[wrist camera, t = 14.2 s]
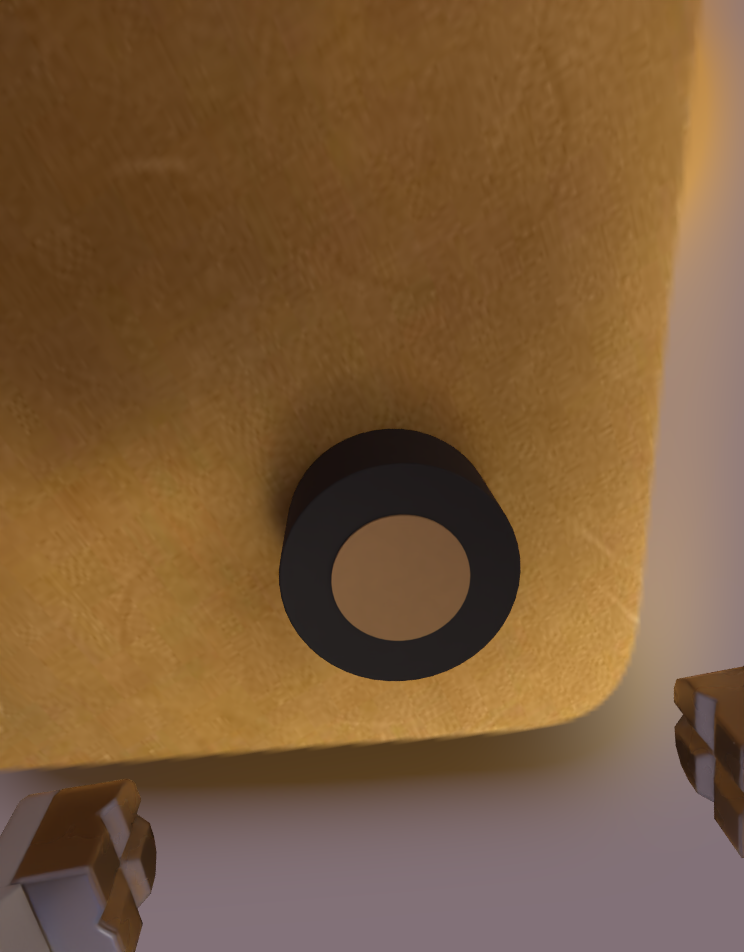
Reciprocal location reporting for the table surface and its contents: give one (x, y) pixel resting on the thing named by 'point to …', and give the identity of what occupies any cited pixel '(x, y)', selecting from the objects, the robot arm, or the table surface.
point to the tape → (396, 557)
